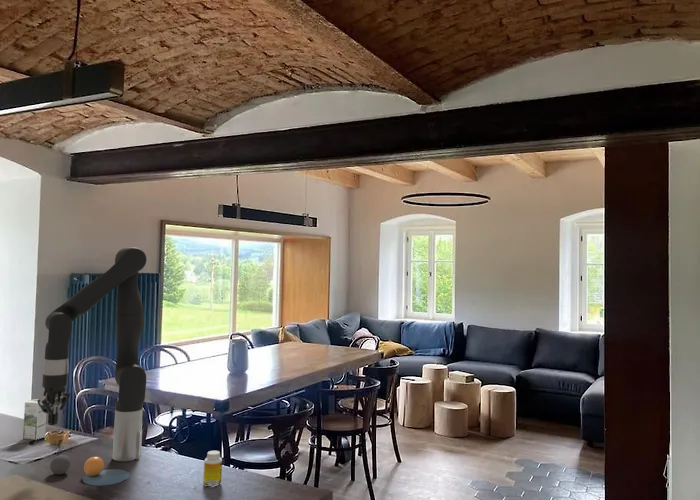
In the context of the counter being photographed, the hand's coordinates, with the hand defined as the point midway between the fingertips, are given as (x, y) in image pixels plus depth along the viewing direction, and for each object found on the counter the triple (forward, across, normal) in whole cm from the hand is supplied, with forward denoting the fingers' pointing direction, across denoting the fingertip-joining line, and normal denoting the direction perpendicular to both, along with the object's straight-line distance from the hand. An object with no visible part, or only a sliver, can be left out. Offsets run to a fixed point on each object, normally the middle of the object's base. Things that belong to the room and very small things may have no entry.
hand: (52, 424), depth 187 cm
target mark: (+15, 0, -21) cm, 26 cm away
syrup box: (+15, +28, +30) cm, 44 cm away
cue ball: (+12, -2, -5) cm, 13 cm away
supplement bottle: (+15, +4, -56) cm, 58 cm away
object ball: (+12, 0, -16) cm, 20 cm away
